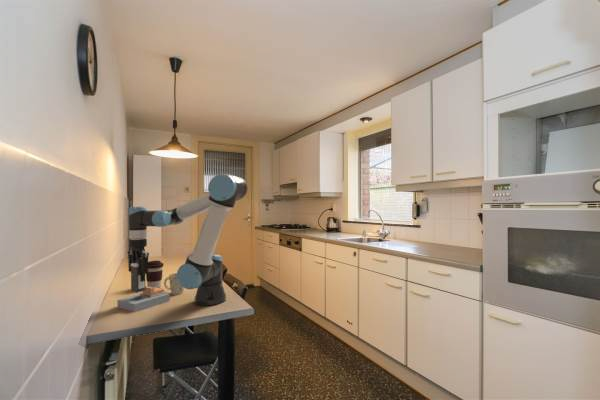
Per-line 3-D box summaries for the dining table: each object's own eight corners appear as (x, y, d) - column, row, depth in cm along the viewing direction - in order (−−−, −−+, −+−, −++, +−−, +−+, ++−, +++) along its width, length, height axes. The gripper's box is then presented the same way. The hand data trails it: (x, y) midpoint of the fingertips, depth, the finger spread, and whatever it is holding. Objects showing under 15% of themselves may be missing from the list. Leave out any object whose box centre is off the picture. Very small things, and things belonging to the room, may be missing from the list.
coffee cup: (166, 284, 185) (166, 259, 185) (159, 289, 175) (159, 263, 175) (149, 285, 185) (149, 260, 185) (141, 289, 175) (141, 263, 175)
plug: (136, 292, 145) (136, 259, 145) (130, 291, 147) (130, 258, 147) (145, 290, 149) (145, 257, 149) (140, 288, 151) (139, 257, 151)
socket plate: (169, 300, 155) (169, 292, 155) (134, 312, 139) (134, 302, 139) (152, 296, 162) (152, 288, 162) (117, 307, 146) (117, 297, 146)
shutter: (164, 292, 156) (164, 285, 156) (151, 296, 150) (151, 288, 150) (155, 290, 159) (155, 283, 159) (142, 294, 153) (142, 286, 153)
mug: (179, 295, 163) (179, 276, 163) (158, 294, 165) (158, 276, 166) (188, 291, 171) (188, 273, 171) (168, 290, 174) (168, 272, 174)
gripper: (156, 238, 147) (156, 287, 147) (134, 236, 156) (135, 283, 156) (141, 240, 140) (141, 291, 140) (119, 238, 149) (120, 286, 149)
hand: (138, 287), depth 148 cm, fingers closed on plug, 4 cm apart
